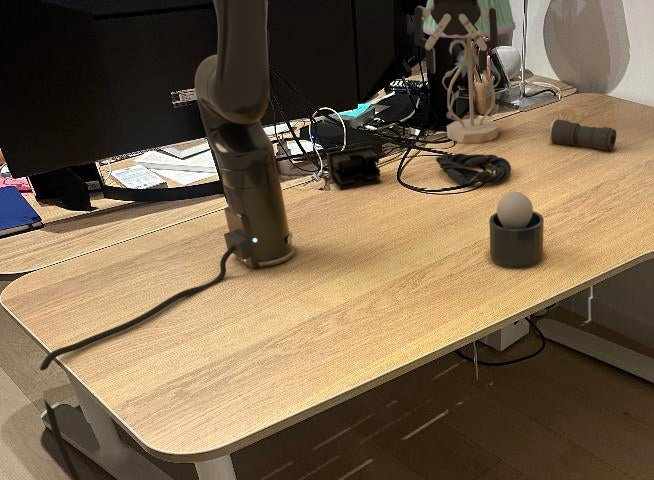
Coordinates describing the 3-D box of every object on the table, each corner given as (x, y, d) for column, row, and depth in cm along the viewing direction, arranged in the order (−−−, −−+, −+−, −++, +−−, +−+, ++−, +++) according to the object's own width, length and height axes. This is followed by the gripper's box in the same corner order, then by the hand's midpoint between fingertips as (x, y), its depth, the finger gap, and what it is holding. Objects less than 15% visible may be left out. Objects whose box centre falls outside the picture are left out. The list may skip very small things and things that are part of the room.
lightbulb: (530, 245, 134) (531, 185, 128) (533, 260, 129) (534, 199, 123) (496, 246, 134) (495, 187, 127) (498, 261, 129) (497, 200, 123)
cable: (425, 170, 167) (424, 151, 165) (477, 157, 174) (476, 138, 171) (468, 193, 156) (468, 172, 154) (522, 178, 163) (522, 158, 160)
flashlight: (617, 147, 178) (619, 124, 175) (609, 154, 174) (611, 131, 171) (558, 138, 184) (558, 116, 180) (549, 145, 180) (549, 122, 177)
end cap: (373, 172, 167) (369, 141, 163) (383, 182, 162) (379, 151, 158) (329, 179, 164) (324, 149, 160) (338, 190, 159) (333, 159, 155)
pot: (517, 273, 126) (517, 235, 122) (479, 257, 132) (478, 220, 128) (553, 255, 132) (554, 218, 128) (515, 240, 137) (515, 204, 133)
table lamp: (497, 118, 199) (494, -56, 175) (529, 142, 182) (531, -47, 159) (419, 128, 193) (405, -51, 169) (444, 154, 176) (433, -40, 153)
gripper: (408, -32, 120) (413, 76, 128) (497, -31, 119) (496, 77, 128) (415, -35, 126) (419, 68, 135) (499, -34, 125) (498, 70, 134)
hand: (457, 73), depth 131 cm, fingers open, 8 cm apart
